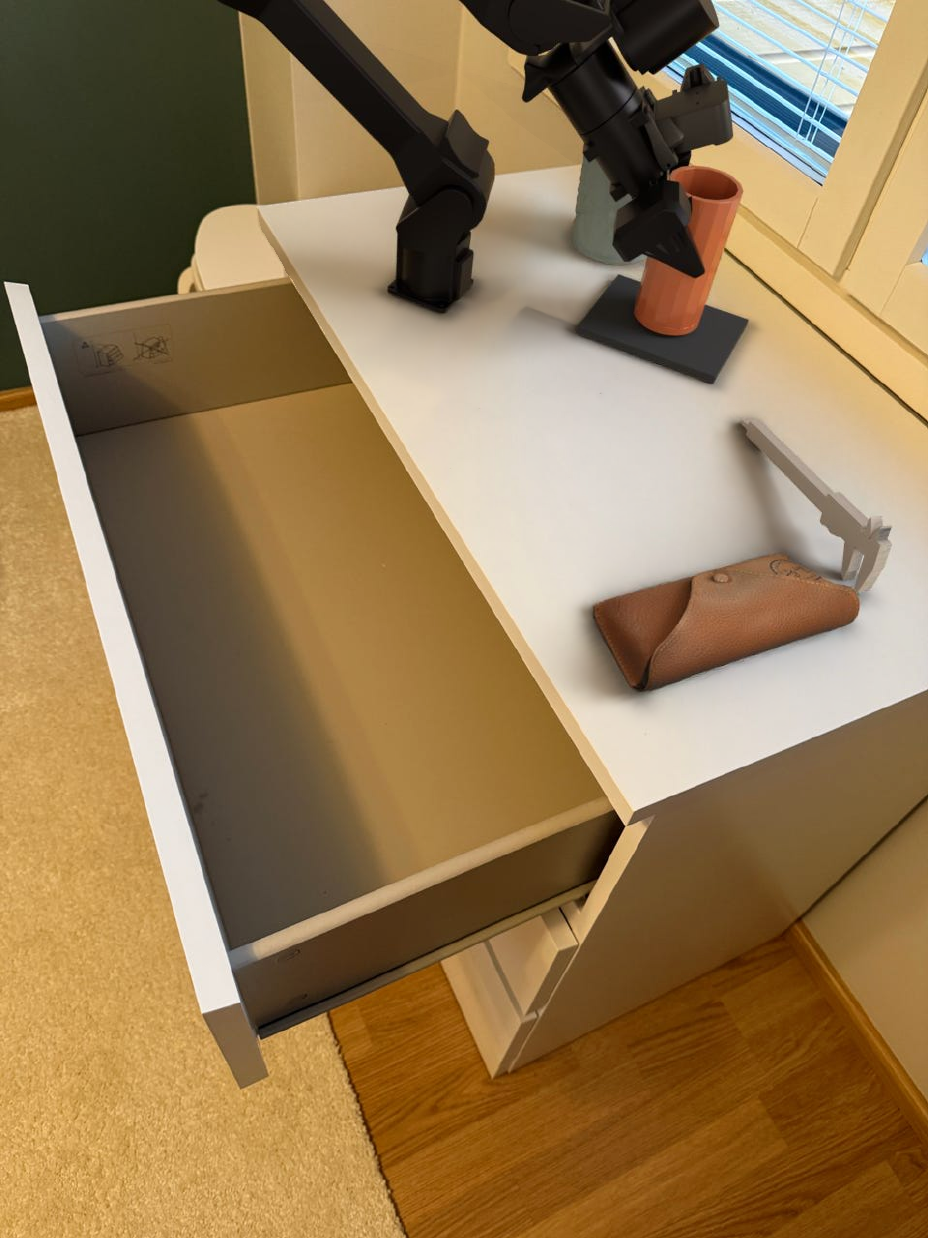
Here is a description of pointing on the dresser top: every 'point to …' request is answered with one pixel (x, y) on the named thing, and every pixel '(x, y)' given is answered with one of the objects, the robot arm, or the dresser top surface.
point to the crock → (675, 296)
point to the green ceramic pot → (597, 216)
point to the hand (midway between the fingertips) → (699, 255)
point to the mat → (684, 353)
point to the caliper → (831, 510)
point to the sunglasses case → (719, 618)
